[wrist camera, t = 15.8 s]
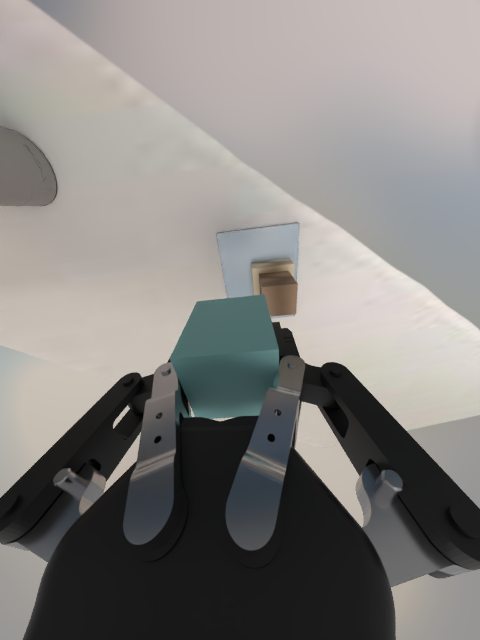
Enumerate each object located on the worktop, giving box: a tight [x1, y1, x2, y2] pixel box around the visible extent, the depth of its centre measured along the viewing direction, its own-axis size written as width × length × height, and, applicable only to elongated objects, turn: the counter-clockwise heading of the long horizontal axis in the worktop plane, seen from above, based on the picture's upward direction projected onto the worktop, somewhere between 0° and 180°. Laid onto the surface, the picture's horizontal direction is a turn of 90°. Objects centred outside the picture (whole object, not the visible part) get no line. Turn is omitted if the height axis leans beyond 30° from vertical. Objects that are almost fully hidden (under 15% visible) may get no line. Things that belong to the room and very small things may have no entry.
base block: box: [251, 258, 295, 295], centre depth 34 cm, size 7×7×4 cm
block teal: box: [170, 294, 279, 419], centre depth 12 cm, size 5×5×6 cm
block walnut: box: [259, 271, 298, 317], centre depth 30 cm, size 5×5×6 cm
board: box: [217, 223, 300, 318], centre depth 36 cm, size 14×18×1 cm
